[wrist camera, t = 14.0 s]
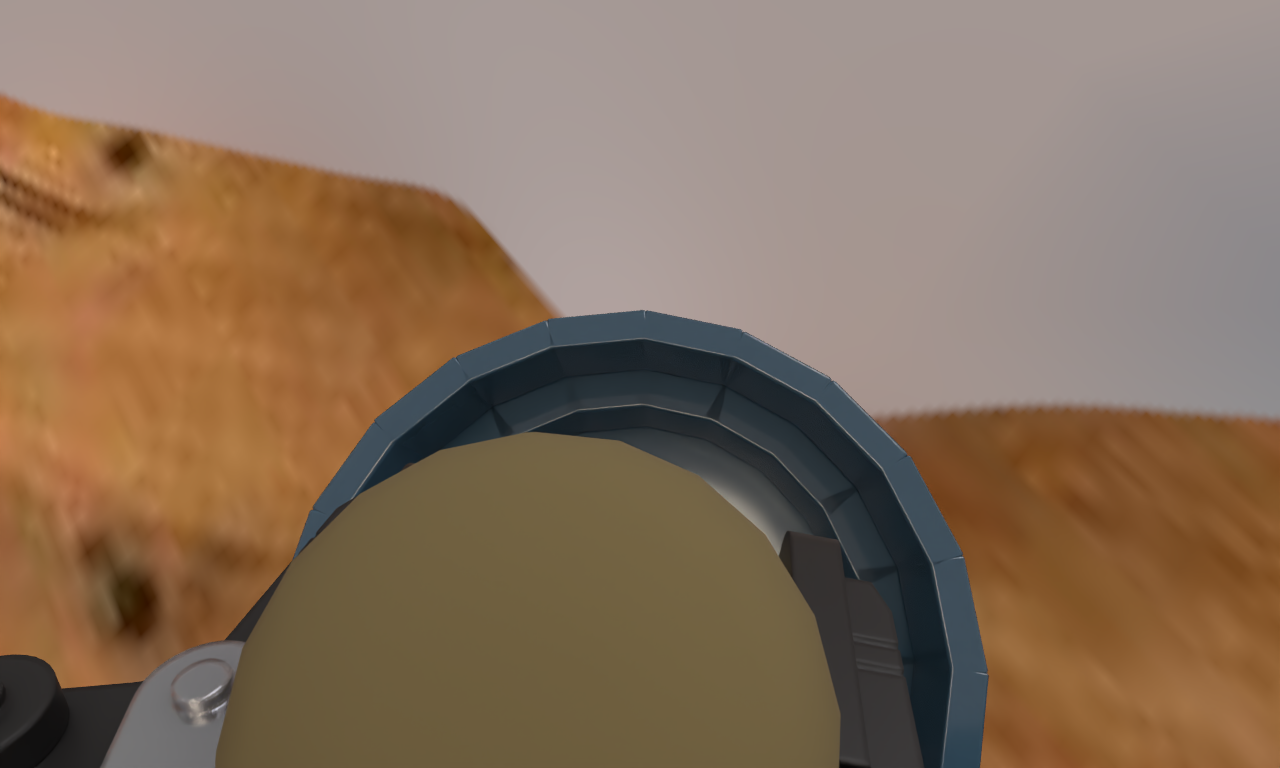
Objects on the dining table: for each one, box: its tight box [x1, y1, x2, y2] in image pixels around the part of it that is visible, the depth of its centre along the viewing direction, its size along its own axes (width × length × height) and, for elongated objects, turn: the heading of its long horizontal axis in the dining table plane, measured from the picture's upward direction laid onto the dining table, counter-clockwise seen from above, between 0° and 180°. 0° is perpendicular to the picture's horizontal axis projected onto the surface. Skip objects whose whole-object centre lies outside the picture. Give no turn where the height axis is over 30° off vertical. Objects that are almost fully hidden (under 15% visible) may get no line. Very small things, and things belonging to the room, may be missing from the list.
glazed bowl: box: [293, 310, 988, 768], centre depth 18 cm, size 16×16×6 cm
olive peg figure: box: [215, 432, 841, 768], centre depth 10 cm, size 6×6×11 cm
